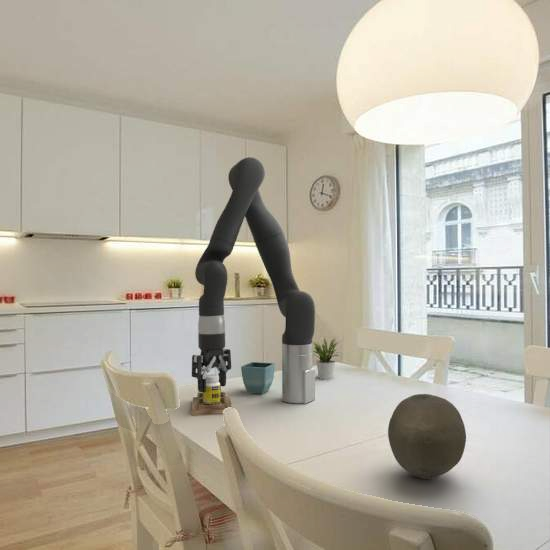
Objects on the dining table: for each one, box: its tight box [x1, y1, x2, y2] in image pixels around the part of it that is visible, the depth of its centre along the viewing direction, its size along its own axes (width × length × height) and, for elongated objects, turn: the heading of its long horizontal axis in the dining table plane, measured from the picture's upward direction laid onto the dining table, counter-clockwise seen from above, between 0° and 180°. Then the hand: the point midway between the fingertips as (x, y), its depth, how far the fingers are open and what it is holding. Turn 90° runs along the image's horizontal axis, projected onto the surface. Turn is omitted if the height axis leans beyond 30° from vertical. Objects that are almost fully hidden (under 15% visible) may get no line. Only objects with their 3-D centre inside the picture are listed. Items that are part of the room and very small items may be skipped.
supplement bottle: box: [203, 374, 220, 405], centre depth 129 cm, size 5×5×8 cm
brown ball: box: [387, 393, 467, 479], centre depth 84 cm, size 14×14×15 cm
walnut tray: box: [191, 391, 233, 416], centre depth 132 cm, size 11×15×2 cm
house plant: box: [312, 335, 343, 380], centre depth 171 cm, size 14×14×16 cm
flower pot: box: [240, 361, 276, 395], centre depth 150 cm, size 9×9×9 cm
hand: (212, 389), depth 129 cm, fingers open, 8 cm apart
